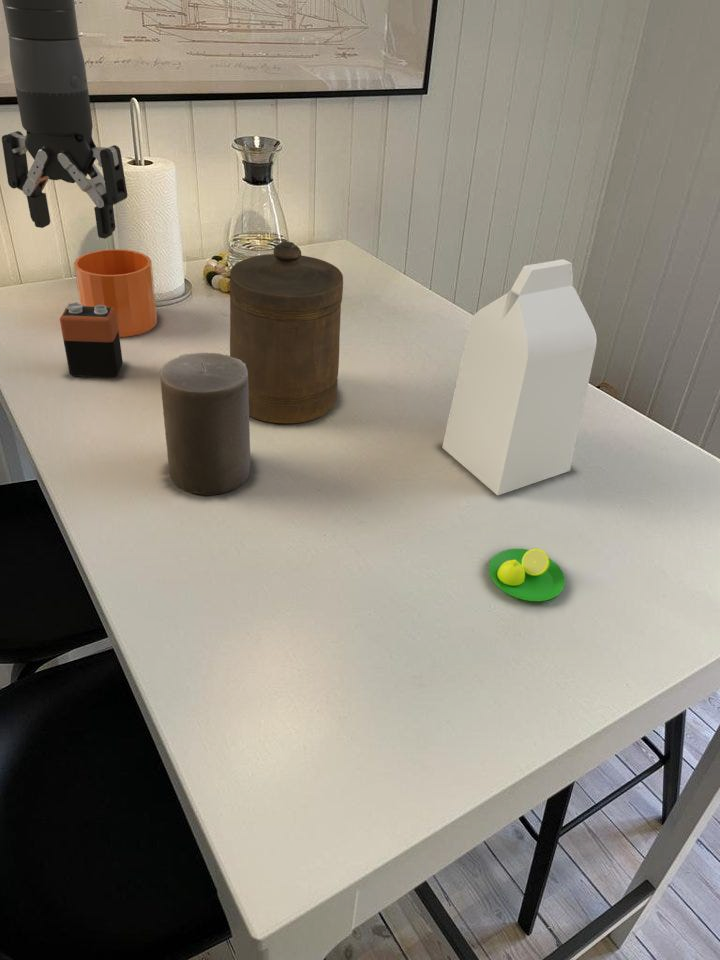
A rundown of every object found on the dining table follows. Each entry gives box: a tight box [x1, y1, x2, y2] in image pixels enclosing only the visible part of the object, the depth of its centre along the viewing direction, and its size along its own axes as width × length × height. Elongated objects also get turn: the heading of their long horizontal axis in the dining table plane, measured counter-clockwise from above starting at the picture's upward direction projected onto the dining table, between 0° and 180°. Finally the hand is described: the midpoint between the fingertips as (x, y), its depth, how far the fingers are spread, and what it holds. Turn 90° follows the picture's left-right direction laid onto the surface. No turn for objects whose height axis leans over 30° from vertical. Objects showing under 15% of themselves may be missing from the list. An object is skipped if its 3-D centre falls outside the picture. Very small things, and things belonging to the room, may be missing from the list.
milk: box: [441, 258, 598, 496], centre depth 90 cm, size 12×12×26 cm
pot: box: [73, 248, 158, 338], centre depth 120 cm, size 11×11×10 cm
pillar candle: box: [159, 352, 252, 496], centre depth 87 cm, size 10×10×15 cm
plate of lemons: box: [488, 548, 566, 602], centre depth 79 cm, size 8×8×3 cm
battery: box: [59, 301, 124, 378], centre depth 106 cm, size 4×7×10 cm, turn 93°
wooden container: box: [229, 241, 344, 424], centre depth 100 cm, size 15×15×22 cm
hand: (74, 231), depth 92 cm, fingers open, 8 cm apart
